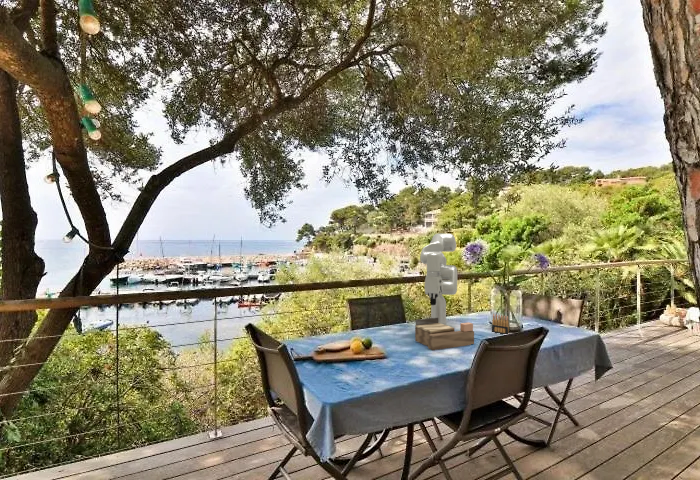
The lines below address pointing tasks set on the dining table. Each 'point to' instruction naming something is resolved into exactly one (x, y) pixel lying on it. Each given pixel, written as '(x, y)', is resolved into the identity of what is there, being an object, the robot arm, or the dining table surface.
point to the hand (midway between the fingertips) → (433, 304)
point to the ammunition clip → (500, 325)
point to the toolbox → (444, 338)
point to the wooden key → (466, 327)
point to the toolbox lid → (432, 325)
